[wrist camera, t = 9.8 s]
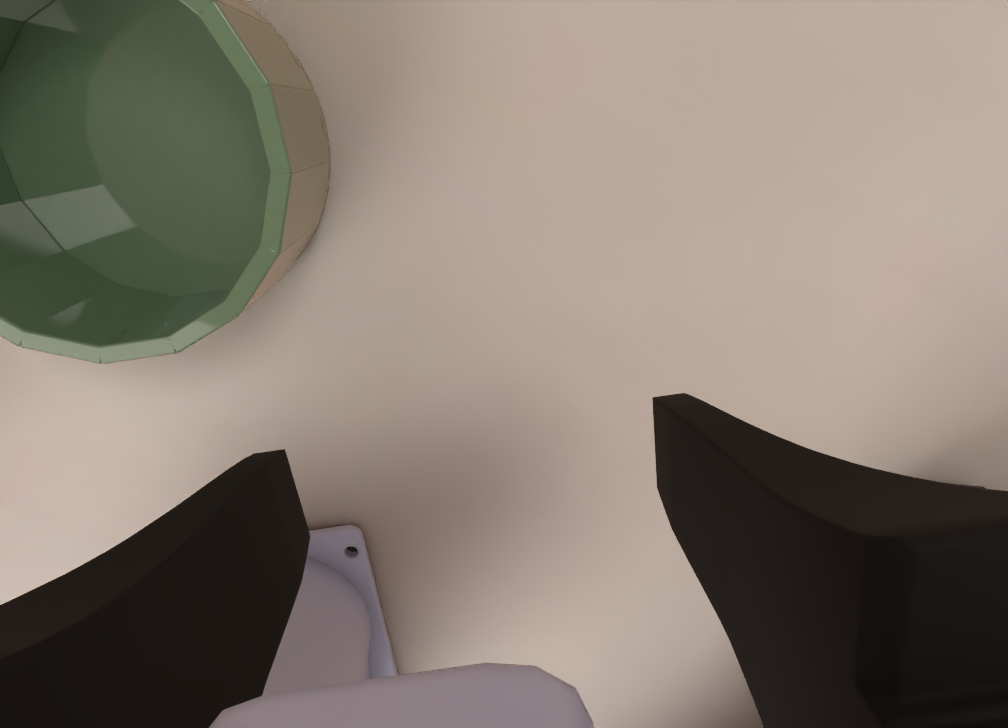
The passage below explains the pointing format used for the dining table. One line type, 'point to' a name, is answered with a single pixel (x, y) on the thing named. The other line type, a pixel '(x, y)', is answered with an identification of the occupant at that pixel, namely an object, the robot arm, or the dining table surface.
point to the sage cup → (148, 171)
